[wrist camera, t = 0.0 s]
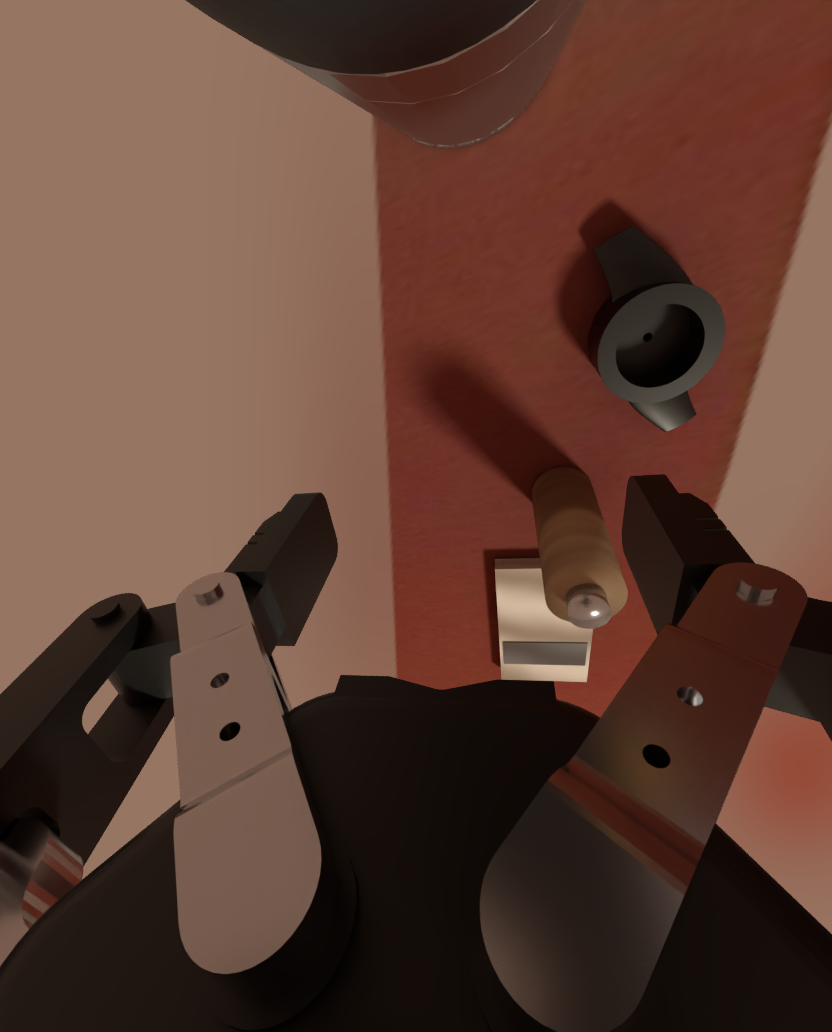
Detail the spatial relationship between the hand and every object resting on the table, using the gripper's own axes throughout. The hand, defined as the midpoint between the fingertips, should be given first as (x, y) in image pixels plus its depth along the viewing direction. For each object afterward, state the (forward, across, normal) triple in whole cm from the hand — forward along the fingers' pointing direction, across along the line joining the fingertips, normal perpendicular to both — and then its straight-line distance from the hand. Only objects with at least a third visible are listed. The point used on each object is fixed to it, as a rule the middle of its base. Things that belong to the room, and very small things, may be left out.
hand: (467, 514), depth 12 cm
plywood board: (+19, -4, +22) cm, 29 cm away
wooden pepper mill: (+18, -5, +10) cm, 21 cm away
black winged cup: (+18, -9, 0) cm, 20 cm away
